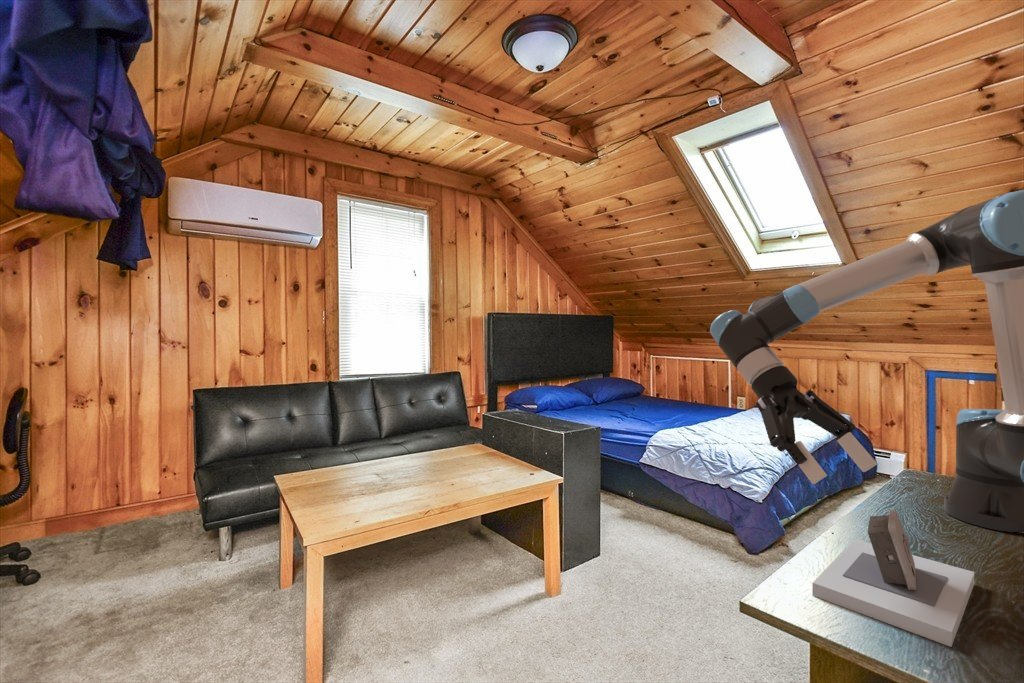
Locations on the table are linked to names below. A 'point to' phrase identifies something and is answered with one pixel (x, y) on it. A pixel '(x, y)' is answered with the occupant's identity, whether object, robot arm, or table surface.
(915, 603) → the mounting board
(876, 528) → the electrical switch
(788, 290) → the robot arm
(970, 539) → the table surface
